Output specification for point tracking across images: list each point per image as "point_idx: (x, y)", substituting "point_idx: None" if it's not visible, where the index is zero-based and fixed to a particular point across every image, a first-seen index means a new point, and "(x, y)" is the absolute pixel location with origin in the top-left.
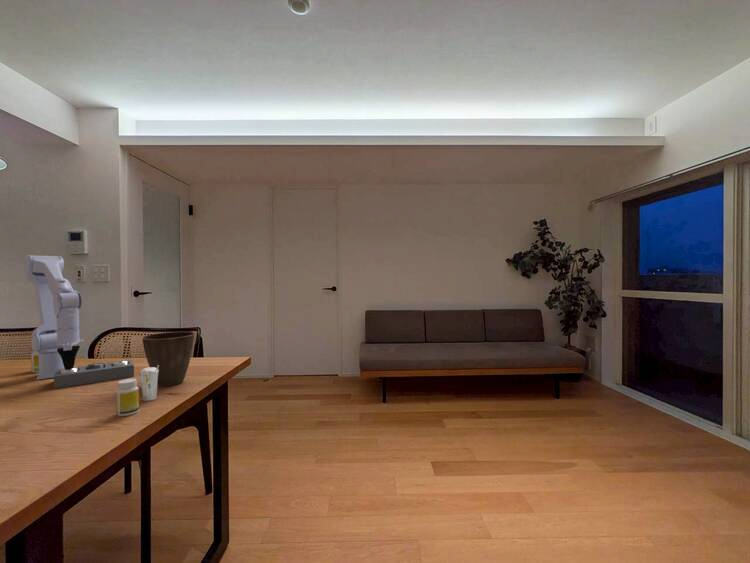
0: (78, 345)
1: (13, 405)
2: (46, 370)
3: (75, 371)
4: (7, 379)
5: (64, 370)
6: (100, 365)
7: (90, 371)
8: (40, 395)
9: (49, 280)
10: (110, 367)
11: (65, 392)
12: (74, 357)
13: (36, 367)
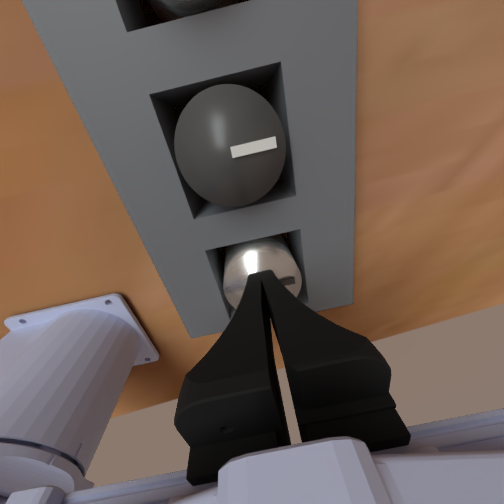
0: (182, 414)
1: (454, 308)
2: (129, 367)
3: (282, 247)
4: (117, 414)
5: (297, 294)
6: (270, 105)
7: (353, 157)
8: (393, 282)
9: None
10: (312, 3)
11: (418, 217)
12: (308, 308)
13: None
